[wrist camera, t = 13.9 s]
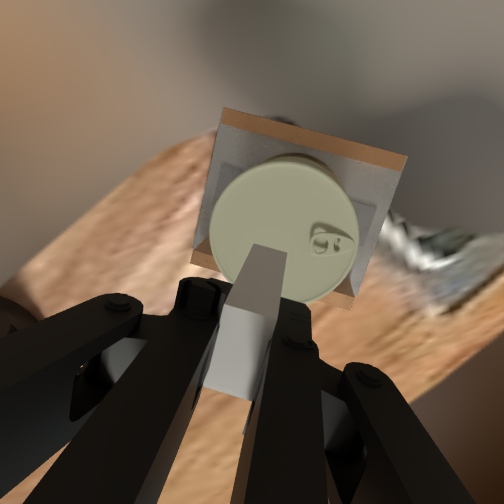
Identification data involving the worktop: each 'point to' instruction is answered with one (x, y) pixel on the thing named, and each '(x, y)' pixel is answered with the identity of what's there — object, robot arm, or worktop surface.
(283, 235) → the can
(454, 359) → the worktop surface
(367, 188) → the rail holder
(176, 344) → the robot arm
